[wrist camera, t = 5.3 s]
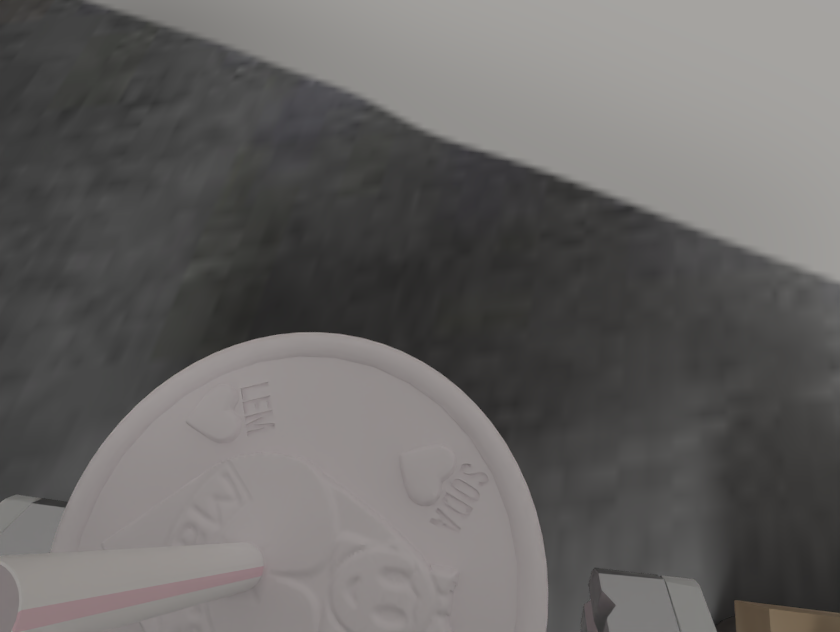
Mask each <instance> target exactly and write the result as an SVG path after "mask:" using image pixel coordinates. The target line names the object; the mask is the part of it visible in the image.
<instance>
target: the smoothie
mask: <svg viewBox="0 0 840 632" xmlns="http://www.w3.org/2000/svg"><path fill="white" fill-rule="evenodd" d="M547 618H548V577H547V562H546V556H545V549H544V542H543V536H542V532H541V528H540V524H539V520H538V516H537V512H536V509H535V506H534V503H533V500H532V497H531V494H530V491H529V488H528V486H527V483H526V481H525V479H524V477H523V474H522V472H521V470H520V468H519V466H518V463H517V462H516V460H515V458H514V456H513V455H512V453H511V451H510V449H509V448H508V446H507V444H506V442H505V441H504V439H503V438H502V436H501V435H500V434H499V432H498V431H497V429H496V428H495V427H494V425H493V424H492V422H491V421H490V420H489V419H488V418H487V416H486V415H485V414H484V413H483V412H482V410H481V409H480V408H479V407H478V406H477V405H476V404H475V403H474V402H473V401H472V400H471V399H470V398H469V397H468V396H467V395H466V394H465V393H464V392H463V391H462V390H461V389H460V388H459V387H457V386H456V385H455V384H454V383H452V382H451V381H450V380H449V379H447V378H446V377H445V376H444V375H442V374H441V373H439V372H438V371H436V370H435V369H433V368H432V367H430V366H429V365H427V364H425V363H424V362H422V361H420V360H418V359H416V358H414V357H412V356H410V355H409V354H407V353H405V352H402V351H400V350H397V349H395V348H392V347H390V346H387V345H385V344H382V343H378V342H375V341H371V340H368V339H364V338H360V337H355V336H349V335H344V334H335V333H323V332H298V333H288V334H278V335H273V336H268V337H263V338H257V339H253V340H250V341H247V342H243V343H240V344H236V345H233V346H231V347H228V348H226V349H223V350H221V351H218V352H216V353H213V354H211V355H209V356H207V357H205V358H203V359H201V360H199V361H197V362H195V363H193V364H192V365H190V366H188V367H187V368H185V369H183V370H182V371H180V372H178V373H177V374H175V375H174V376H172V377H171V378H170V379H168V380H167V381H165V382H164V383H163V384H161V385H160V386H159V387H157V388H156V389H155V390H153V391H152V392H151V393H150V394H149V395H148V396H147V397H145V398H144V399H143V400H142V401H141V402H140V403H138V404H137V405H136V406H135V407H134V408H133V409H132V410H131V411H130V412H129V413H128V415H127V416H126V417H125V418H124V419H123V420H122V421H121V422H120V423H119V424H118V425H117V426H116V428H115V429H114V430H113V431H112V432H111V434H110V435H109V436H108V437H107V438H106V440H105V441H104V442H103V444H102V445H101V447H100V448H99V449H98V451H97V452H96V454H95V455H94V457H93V458H92V459H91V461H90V462H89V464H88V466H87V468H86V469H85V471H84V473H83V474H82V476H81V478H80V479H79V481H78V483H77V485H76V487H75V489H74V491H73V493H72V495H71V497H70V499H69V501H68V503H67V505H66V508H65V510H64V513H63V515H62V518H61V521H60V523H59V526H58V528H57V531H56V534H55V538H54V541H53V544H52V548H51V551H50V553H42V554H24V555H5V556H0V632H546V628H547Z"/></svg>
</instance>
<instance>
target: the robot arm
mask: <svg viewBox="0 0 840 632" xmlns="http://www.w3.org/2000/svg"><path fill="white" fill-rule="evenodd" d="M67 503H68V502H65V501H58V500H52V499H45V498H36V497H29V496H22V495H14V496H11V497H9V498H6V499H4V500H3V501H2V502H1V503H0V556H5V555H24V554H42V553H50V551H51V548H52V544H53V541H54V538H55V534H56V531H57V528H58V526H59V523H60V521H61V518H62V515H63V513H64V510H65V508H66V505H67ZM588 585H589V592H590V599H591V600H590V601H589V602H587V603H586V604H584V607H583V613H582V618H581V631H580V632H717V630H716V627H715V625H714V622H713V619H712V616H711V614H710V611H709V608H708V606H707V603H706V600H705V598H704V595H703V592H702V590H701V587H700V585H699V584H698V583H697V582H696V580H695V579H687V578H679V577H670V576H662V575H661V576H658V575H655V574H646V573H637V572H629V571H620V570H611V569H602V568H594V569H593V571H592V573H591V576H590V580H589V584H588Z"/></svg>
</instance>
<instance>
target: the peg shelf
mask: <svg viewBox="0 0 840 632" xmlns="http://www.w3.org/2000/svg"><path fill="white" fill-rule="evenodd" d="M734 602H735V616H733V617H729V618H727V619H725V620H723V621H721V622H720V623H719V624H718V625H717V626H716V630H717V632H840V613H835V612H827V611H819V610H811V609H803V608H795V607H787V606H779V605H771V604H763V603H755V602H747V601H739V600H734Z"/></svg>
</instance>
